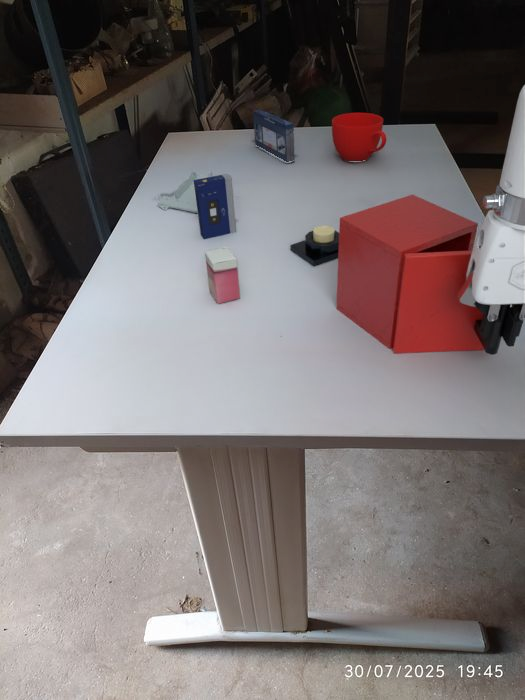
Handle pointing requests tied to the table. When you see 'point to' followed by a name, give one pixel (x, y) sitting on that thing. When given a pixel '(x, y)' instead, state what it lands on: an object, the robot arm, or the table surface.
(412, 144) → the table surface
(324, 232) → the yellow button cap
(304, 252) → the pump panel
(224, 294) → the small box
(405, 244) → the cabinet
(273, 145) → the vhs cassette tape
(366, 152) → the ceramic cup
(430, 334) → the door
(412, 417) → the table surface
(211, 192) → the cassette player
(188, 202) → the metal bracket
